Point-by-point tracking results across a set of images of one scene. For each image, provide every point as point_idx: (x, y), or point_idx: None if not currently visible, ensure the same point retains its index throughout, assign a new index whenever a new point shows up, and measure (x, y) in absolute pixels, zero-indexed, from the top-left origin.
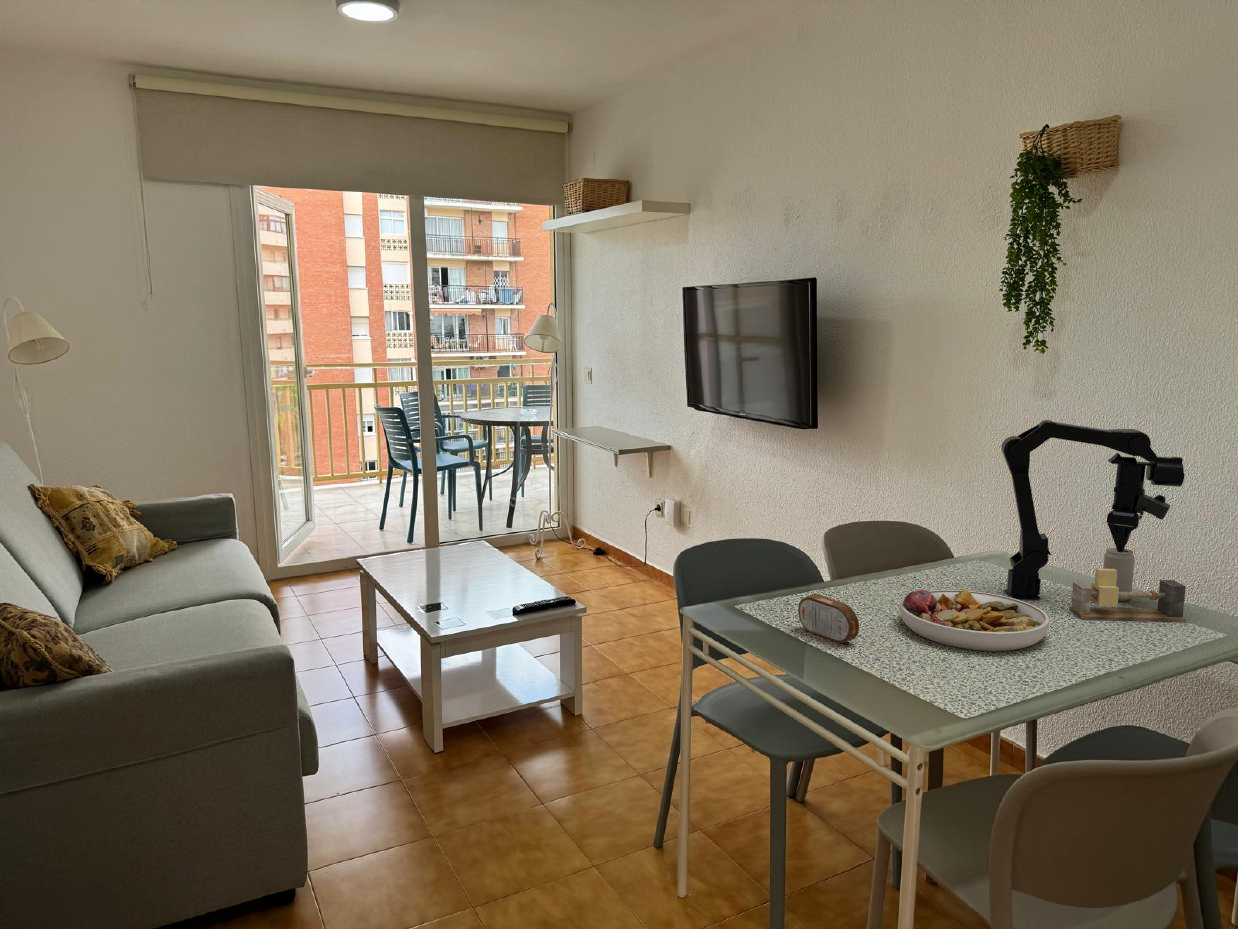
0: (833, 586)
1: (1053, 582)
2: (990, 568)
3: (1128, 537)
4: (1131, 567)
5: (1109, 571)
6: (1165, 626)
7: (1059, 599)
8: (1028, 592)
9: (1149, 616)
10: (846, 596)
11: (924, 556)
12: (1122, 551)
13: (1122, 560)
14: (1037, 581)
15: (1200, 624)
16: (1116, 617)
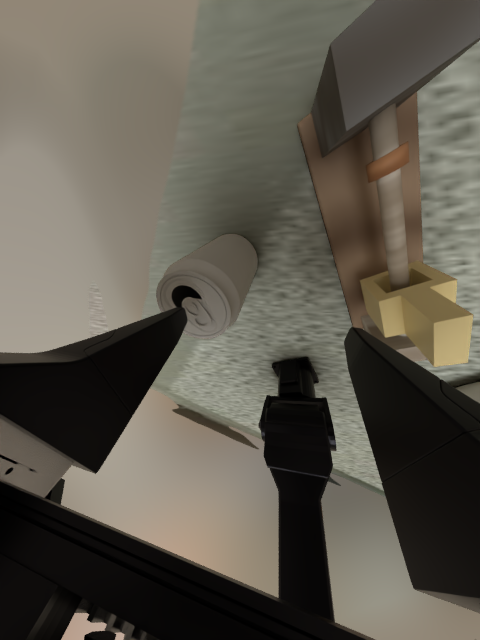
0: (332, 467)
1: (202, 339)
2: (192, 386)
3: (164, 321)
4: (225, 257)
5: (467, 334)
6: (470, 110)
7: (290, 336)
8: (311, 375)
9: (402, 172)
10: (363, 467)
11: (193, 418)
12: (361, 331)
13: (239, 291)
14: (300, 380)
15: None
16: (422, 254)
